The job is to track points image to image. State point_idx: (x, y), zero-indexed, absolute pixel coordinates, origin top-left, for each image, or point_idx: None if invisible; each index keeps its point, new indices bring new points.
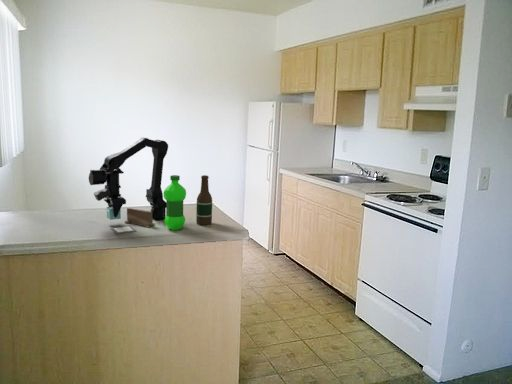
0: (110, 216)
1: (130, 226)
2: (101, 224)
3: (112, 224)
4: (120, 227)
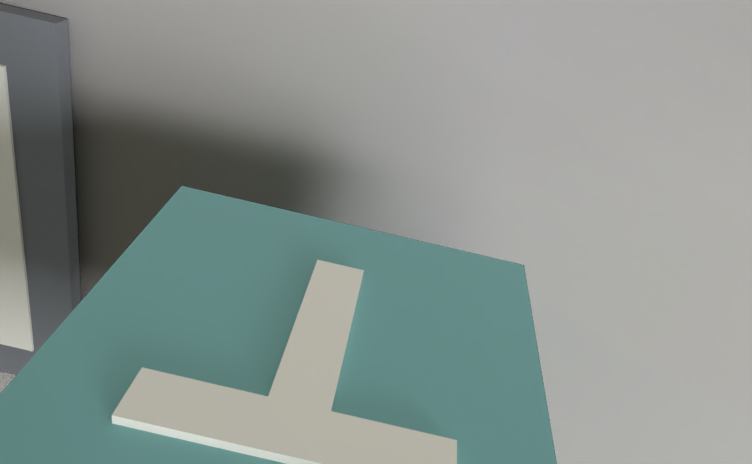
0: (133, 257)
1: None
2: (609, 59)
3: None
4: (12, 214)
